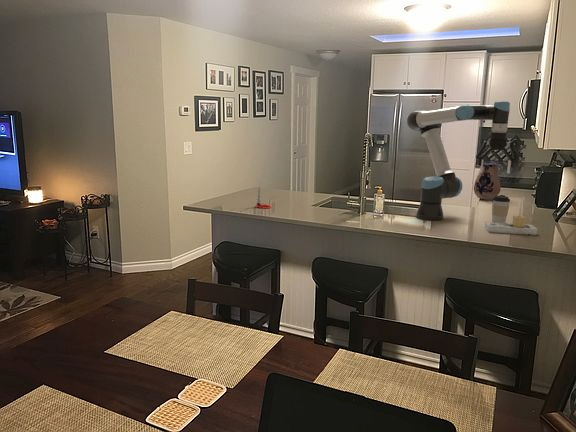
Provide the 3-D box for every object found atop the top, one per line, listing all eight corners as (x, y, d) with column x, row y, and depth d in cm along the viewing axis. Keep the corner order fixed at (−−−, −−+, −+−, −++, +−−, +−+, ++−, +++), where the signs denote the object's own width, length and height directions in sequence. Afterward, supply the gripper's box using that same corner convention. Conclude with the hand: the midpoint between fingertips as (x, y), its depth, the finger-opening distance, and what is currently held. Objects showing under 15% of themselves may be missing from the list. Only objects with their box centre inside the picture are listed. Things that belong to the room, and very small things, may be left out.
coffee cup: (506, 225, 262) (509, 198, 259) (488, 222, 267) (491, 196, 264) (508, 222, 270) (511, 195, 266) (491, 219, 274) (494, 193, 271)
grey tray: (488, 232, 246) (488, 226, 246) (484, 227, 256) (485, 221, 255) (536, 235, 242) (537, 229, 241) (531, 230, 251) (532, 224, 251)
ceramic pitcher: (469, 199, 339) (473, 163, 333) (477, 195, 356) (480, 161, 350) (496, 202, 329) (500, 165, 324) (502, 197, 346) (506, 163, 341)
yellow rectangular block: (513, 232, 246) (515, 217, 244) (511, 230, 250) (513, 215, 249) (523, 233, 245) (525, 217, 244) (520, 231, 250) (522, 216, 248)
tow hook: (273, 207, 301) (259, 205, 304) (274, 187, 298) (260, 185, 301) (268, 210, 294) (254, 208, 296) (269, 189, 291) (255, 187, 293)
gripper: (474, 131, 248) (470, 172, 253) (526, 132, 243) (521, 174, 248) (472, 131, 255) (468, 170, 260) (523, 132, 250) (518, 172, 255)
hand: (494, 172), depth 254 cm, fingers open, 13 cm apart
